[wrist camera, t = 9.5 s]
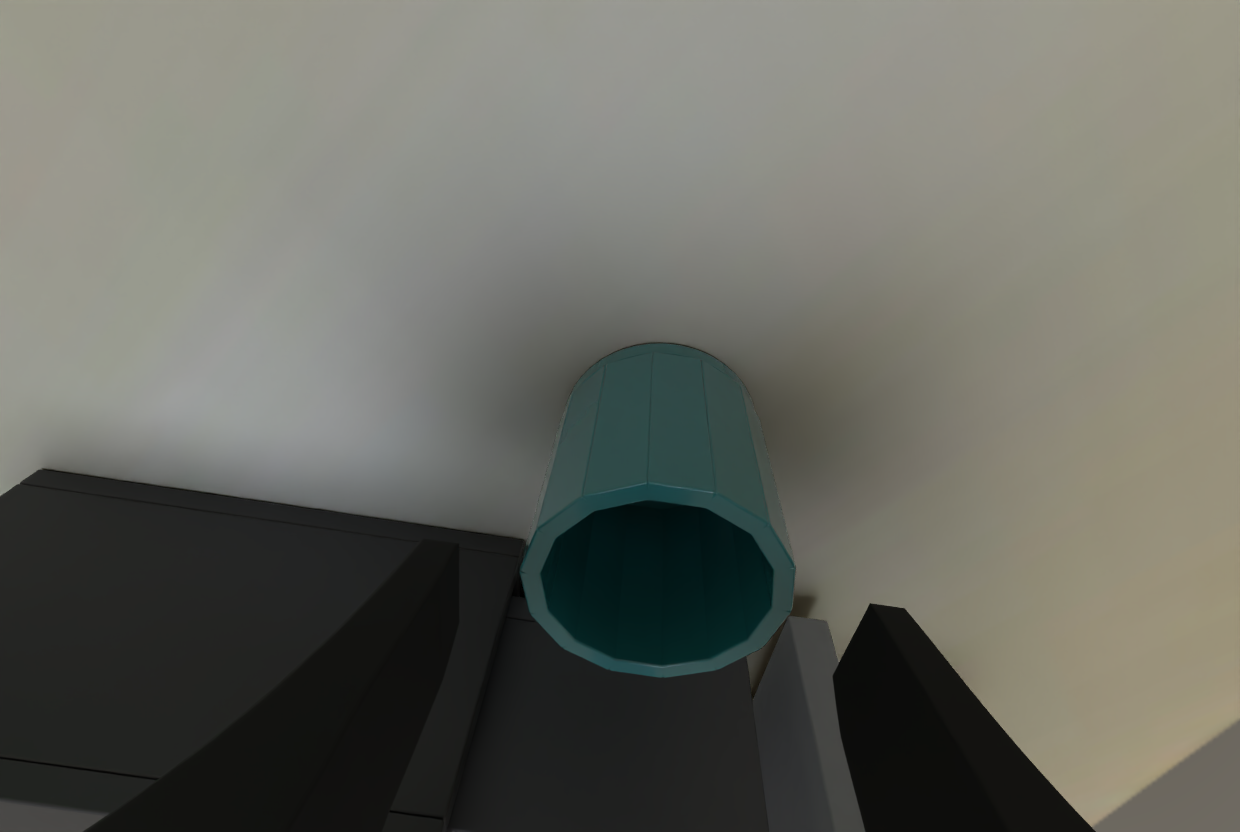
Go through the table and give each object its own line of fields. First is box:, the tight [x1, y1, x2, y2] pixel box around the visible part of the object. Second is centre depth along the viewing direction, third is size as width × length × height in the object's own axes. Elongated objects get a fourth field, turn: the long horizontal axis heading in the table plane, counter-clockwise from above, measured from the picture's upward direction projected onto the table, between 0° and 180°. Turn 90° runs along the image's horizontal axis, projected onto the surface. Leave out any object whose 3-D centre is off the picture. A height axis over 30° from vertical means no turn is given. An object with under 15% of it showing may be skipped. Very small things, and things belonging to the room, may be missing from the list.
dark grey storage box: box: [0, 470, 524, 832], centre depth 18 cm, size 14×13×8 cm
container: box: [519, 343, 796, 678], centre depth 14 cm, size 5×5×6 cm
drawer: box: [446, 596, 865, 832], centre depth 18 cm, size 19×12×7 cm, turn 82°
